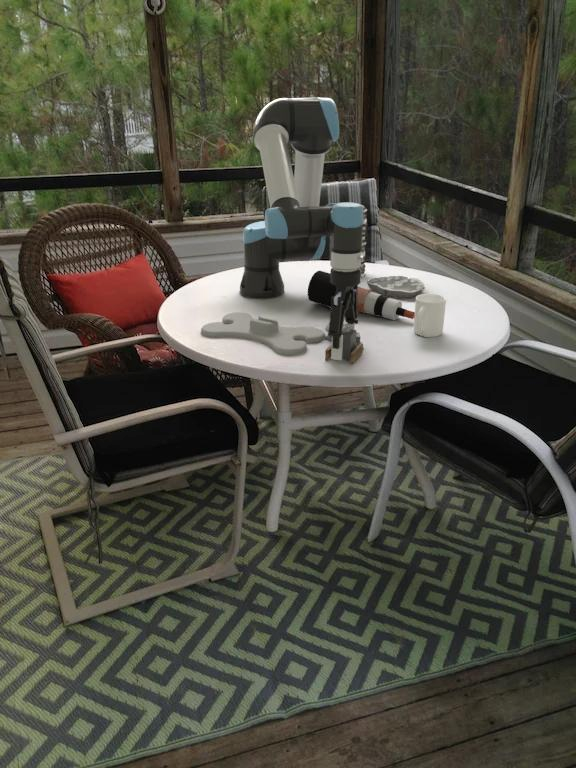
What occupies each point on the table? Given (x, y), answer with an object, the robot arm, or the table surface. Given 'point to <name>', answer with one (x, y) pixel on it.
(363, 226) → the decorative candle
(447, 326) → the table surface
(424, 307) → the mug
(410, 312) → the cable
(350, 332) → the block
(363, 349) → the clip
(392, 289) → the brain slice
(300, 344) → the holder
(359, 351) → the end holder
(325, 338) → the clip
